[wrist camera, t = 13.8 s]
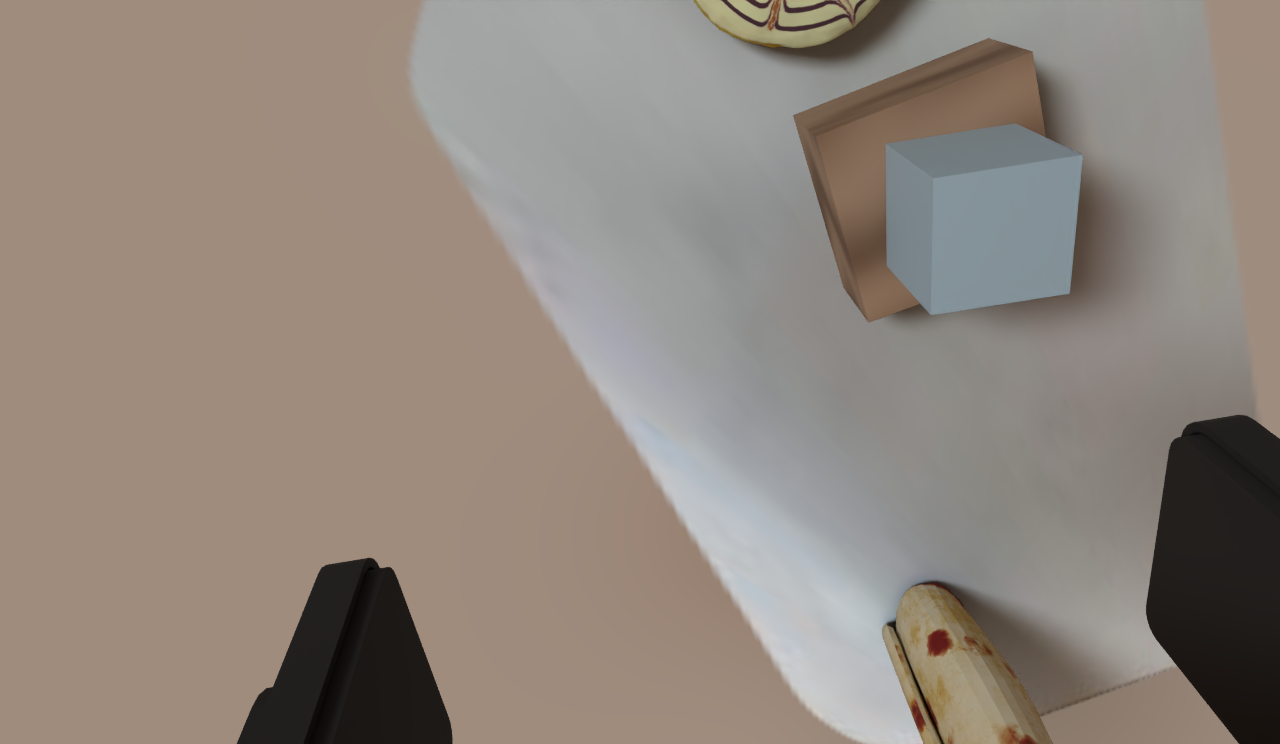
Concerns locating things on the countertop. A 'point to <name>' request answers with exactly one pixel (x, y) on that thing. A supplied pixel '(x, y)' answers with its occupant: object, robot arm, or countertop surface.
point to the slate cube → (981, 217)
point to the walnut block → (898, 111)
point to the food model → (957, 675)
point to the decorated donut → (786, 19)
